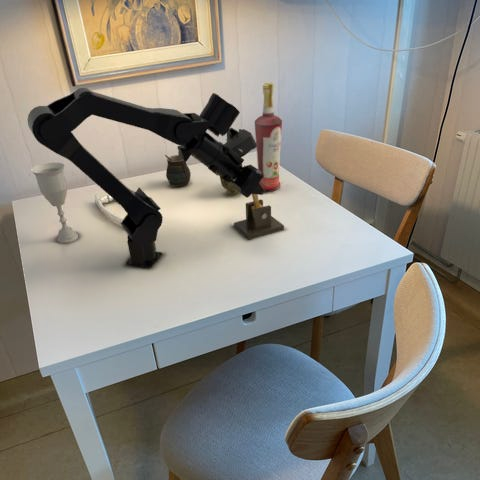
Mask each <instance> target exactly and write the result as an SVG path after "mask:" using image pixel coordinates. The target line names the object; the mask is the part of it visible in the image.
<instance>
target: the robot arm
mask: <svg viewBox="0 0 480 480" xmlns="http://www.w3.org/2000/svg"><path fill="white" fill-rule="evenodd" d="M240 114H241V112H240V110H239V109H238V108H237V107H236V106H234V104H232V103H230V102H228V101H227V100H226V99H224V98H222V97H221V96H220V95H219V94H217V93H215V92H213V93H212V94H211V95H210V97H209V99H208V101H207V103H206V105H205V106H204V108H203V109H202V111H201V112H200V114H197V113H196V112H185V113H184V112H181V111H179V110H178V109H174V108H163V107H151V108H150V107H145V106H142V105H139V104H135V103H132V102H129V101H125V100H123V99H120V98H116V97H112V96H109V95H105V94H102V93H99V92H95V91H92V90H91V89H89V88H87V87H79V88H77V89H76V90H75V91H73V92H72V93H69V94H68V95H66V96H63V97H61V98H59V99H55V100H54V101H52V102H50V103H48V104H47V105H38V106H35V107H34V108H32V109H31V110H29V113H28V115H27V125H28V129H29V130H30V132H31V134H32V135H33V137H34V139H35V140H36V141H37V142H38V143H39V144H40V145H42V146H44V147H45V148H47V149H48V150H50V151H52V152H53V153H55V154H56V155H59V156H60V157H63V158H64V159H65V160H68V161H70V162H71V163H72V164H73V165H74V166H75V167H77V168H78V169H79V170H80V171H81V172H82V173H83V174H84V175H86V176H87V178H89V179H90V180H91V181H92V182H93V183H95V184H96V185H97V186H98V187H99V188H100V189H102V190H103V191H104V192H105V194H107V195H110V196H111V197H112V198H113V199H114V200H113V201H115V202H116V203H117V204H119V205H120V206H121V208H122V209H123V211H125V213H126V215H125V216H124V218H123V221H122V222H121V225H120V226H121V227H122V229H123V231H125V233H126V234H127V235H126V236H127V237H126V239H127V240H126V242H127V247H128V253H129V258H128V259H127V260H126V261H125V265H127V266H131V267H132V266H133V267H138V268H139V267H140V268H147V269H152V268H153V267H154V265H155V264H156V263H158V261H159V260H160V258H161V257H162V256H163V252H162V251H157V246H156V241H157V236H158V232H159V229H160V228H161V227H162V224H163V218H164V217H163V214H162V213H161V212H160V210H161V207H160V206H159V205H158V204H157V203H156V202H155V201H154V200H153V198H152V197H150V196H148V195H147V194H146V192H144V190H143V189H142V187H137V190H136V191H134V190H132V189H130V188H129V187H128V186H126V185H125V183H123V182H122V181H121V180H120V179H119V178H118V177H117V176H116V175H115V174H114V173H113V172H112V171H110V169H108V168H107V167H106V166H105V165H104V164H103V163H102V162H101V161H100V160H98V158H96V157H95V155H93V154H92V153H91V152H90V151H89V150H88V149H87V148H86V147H85V146H84V145H83V144H82V143H81V142H80V141H79V140H78V139H77V138H76V135H74V134H73V131H75V130H76V129H77V128H78V127H79V126H80V125H81V124H83V123H84V121H86V120H87V119H88V118H90V117H92V116H96V117H99V118H103V119H107V120H110V121H114V122H118V123H121V124H124V125H128V126H132V127H135V128H138V129H139V128H140V129H143V130H147V131H149V132H151V133H153V134H155V135H157V136H159V137H161V138H163V139H164V140H166V141H169V142H171V143H172V144H175V145H177V151H178V152H177V155H178V156H179V157H180V158H181V159H182V160H183V161H185V162H186V163H187V162H188V161H189V159H190V157H193V158H194V159H195V160H197V161H198V162H200V163H201V164H202V165H204V166H205V167H206V168H207V169H208V170H209V171H210V172H211V173H213V174H214V175H216V176H217V177H218V176H219V178H220V177H221V178H222V179H223V180H225V181H227V182H232V183H234V189H236V190H237V191H238V192H239V194H241V195H243V196H244V197H245V198H246V199H247V198H250V196H252V194H257V195H258V196H263V195H264V194H265V192H266V191H264V189H263V188H262V186H261V185H260V184H259V182H260V181H261V179H262V178H263V175H264V174H263V173H262V172H261V171H260V170H258V167H255V166H254V165H252V164H247V165H245V167H244V166H243V163H244V162H245V159H244V158H243V157H245V156H246V155H247V154H248V153H250V152H251V151H252V150H256V147H257V144H256V139H254V136H253V134H252V133H251V132H250V131H249V130H247V129H245V128H244V129H241V128H239V129H238V130H237V129H235V128H233V127H232V125H233V124H234V123H235V121H236V120H237V118H238V116H239V115H240ZM207 131H209V132H210V133H211V134H213V135H214V136H215V137H217V138H218V137H220V136H221V137H224V136H226V139H225V141H226V142H225V143H223V142H221V141H218V140H217V139H216V138H214V137H213V136H212V135H211V134H210V133H208V132H207ZM240 164H242V166H241V165H240Z"/></svg>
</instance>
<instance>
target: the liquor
mask: <svg viewBox="0 0 480 480" xmlns="http://www.w3.org/2000/svg"><path fill="white" fill-rule="evenodd" d="M262 95H263V104H262V105H263V106H262V115H259V117H257V118H256V119H255V120H254V134H255V142H256V144H257V147H256V148H255V150H256V161H257V169H258V170H260V171H261V172H262V173H263V174H264V175H263V178H262V179H261V181H260V182H259V184H260V185H261V186H262V188H263V189H264V191H265V192H274V191H276V190H277V189H278V188H279V187H280V186H281V181H280V164H281V163H280V162H281V161H280V160H281V149H282V148H281V147H282V129H283V120H282V119H281V118H280V117H279V116H277V115H275V112H274V100H273V95H274V83H272V82H263V83H262Z"/></svg>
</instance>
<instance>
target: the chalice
mask: <svg viewBox="0 0 480 480" xmlns="http://www.w3.org/2000/svg"><path fill="white" fill-rule="evenodd" d="M64 169H65V164H64V163H63V162H57V161H56V162H55V161H53V162H52V161H51V162H44V163H41V164H40V163H39V164H38V165H35V166H33V167H32V168H31V172H32V173H33V174H34V176H35V178H36V182H37V185H38V188H39V191H40V193H41V194H42V196H43V197H44V199H46V200H47V202H49V204H50V205H51V206H52V207H56V209H57V213H56V214H57V216H59V220H58V222H60V223H61V226H62V227H61V228H60V229H59V230H58V233H57V234H58V235H57V242H59V243H62V244H67V243H72V242H75V241H76V240H77V239H78V238H79V235H78V233H76V231H75V230H74V229H73V228H72V227H69V226H68V225H67V218H65V212H64V210H63V208H62V206H63V205H65V203H66V198H67V193H68V183H67V179H66V175H65V172H64Z"/></svg>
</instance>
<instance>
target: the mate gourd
mask: <svg viewBox="0 0 480 480" xmlns="http://www.w3.org/2000/svg"><path fill="white" fill-rule="evenodd" d="M164 157H165V158H167V159H166V162H167V166H166V172H165V176H166V180H167V181H168V184H169V185H171V186H172V187H175V188H182V187H185V186H187V185H189V183H190V181H191V174H192V172H191V169H190V168H189V166H188V164H187V161H186V162H185V161H183V160H182V159H181V158H180V157H179V156H178V154H174V155H170V156H168V155H167V154H165V155H164Z"/></svg>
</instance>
